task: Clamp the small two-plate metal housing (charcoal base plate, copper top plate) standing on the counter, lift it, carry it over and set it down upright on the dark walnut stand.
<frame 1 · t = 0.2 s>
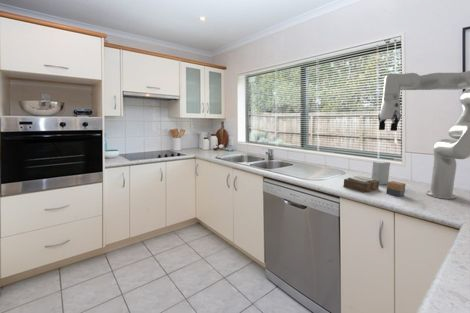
hand: (387, 130, 134), 36 cm above the table, tool pointing down, fingers open, 9 cm apart
housing: (395, 194, 139), on the table
skincare box: (379, 183, 163), on the table
walnut stand: (360, 187, 152), on the table
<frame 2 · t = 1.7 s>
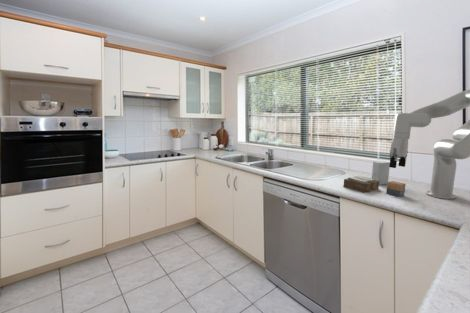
hand: (397, 166, 137), 16 cm above the table, tool pointing down, fingers open, 9 cm apart
nothing on the table moved.
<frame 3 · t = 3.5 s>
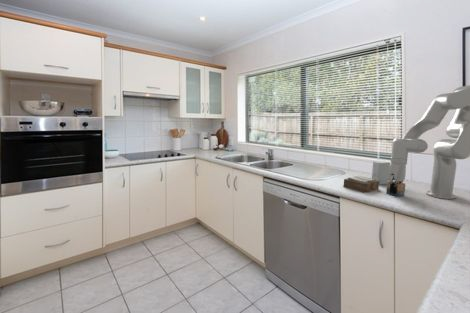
hand: (395, 192, 139), 1 cm above the table, tool pointing down, fingers closed on housing, 5 cm apart
housing: (395, 194, 139), on the table, touching gripper
everything else where it was.
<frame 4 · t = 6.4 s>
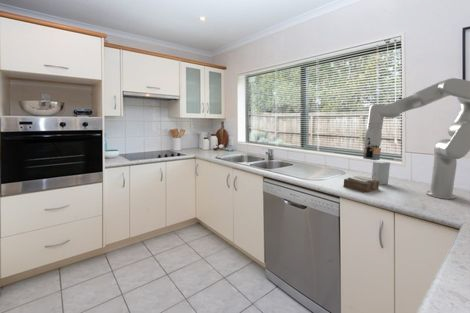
hand: (371, 156, 146), 20 cm above the table, tool pointing down, fingers closed on housing, 5 cm apart
housing: (371, 159, 146), point 19 cm above the table, touching gripper
everything else where it was.
when the fingers open (9 cm above the table, at t = 9.6 s): housing drops 1 cm, resting on walnut stand.
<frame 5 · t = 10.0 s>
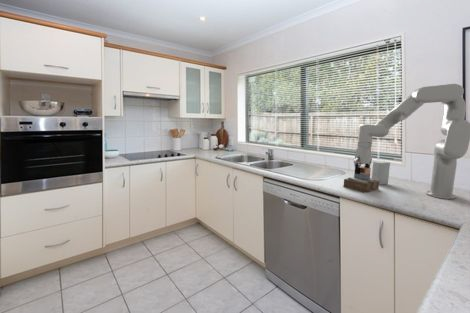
hand: (362, 172, 151), 10 cm above the table, tool pointing down, fingers open, 9 cm apart
housing: (361, 178, 151), point 6 cm above the table, touching walnut stand
everything else where it was.
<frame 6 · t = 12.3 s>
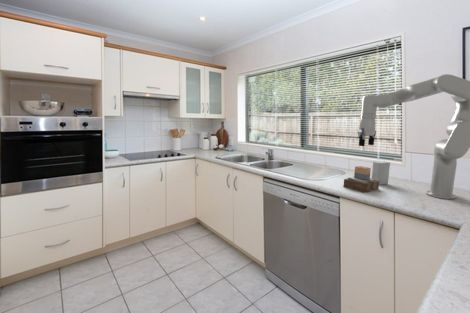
hand: (366, 145, 148), 26 cm above the table, tool pointing down, fingers open, 9 cm apart
nothing on the table moved.
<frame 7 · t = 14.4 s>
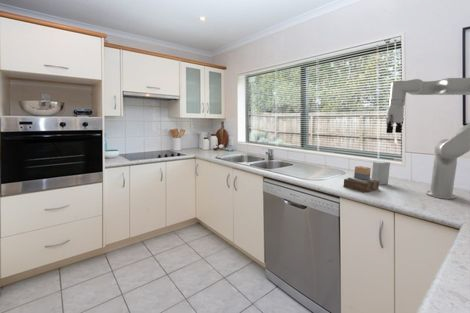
hand: (393, 132, 145), 34 cm above the table, tool pointing down, fingers open, 9 cm apart
nothing on the table moved.
at the end: housing inside the target area on the walnut stand (0.1 cm from its centre), point 6.0 cm above the walnut stand's base; housing tilted 0°; the gripper is holding nothing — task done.
